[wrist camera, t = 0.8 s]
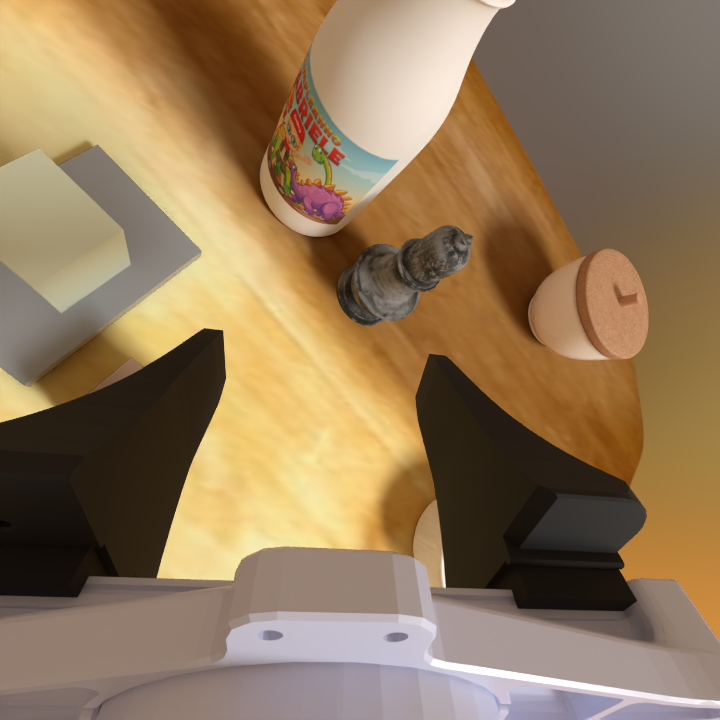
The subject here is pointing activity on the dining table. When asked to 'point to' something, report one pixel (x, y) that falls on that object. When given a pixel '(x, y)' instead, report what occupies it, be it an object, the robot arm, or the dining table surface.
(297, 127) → the milk bottle
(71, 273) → the sage block
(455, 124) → the dining table surface
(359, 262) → the grey chess piece
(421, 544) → the ramekin
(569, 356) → the lidded jar
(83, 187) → the plate
